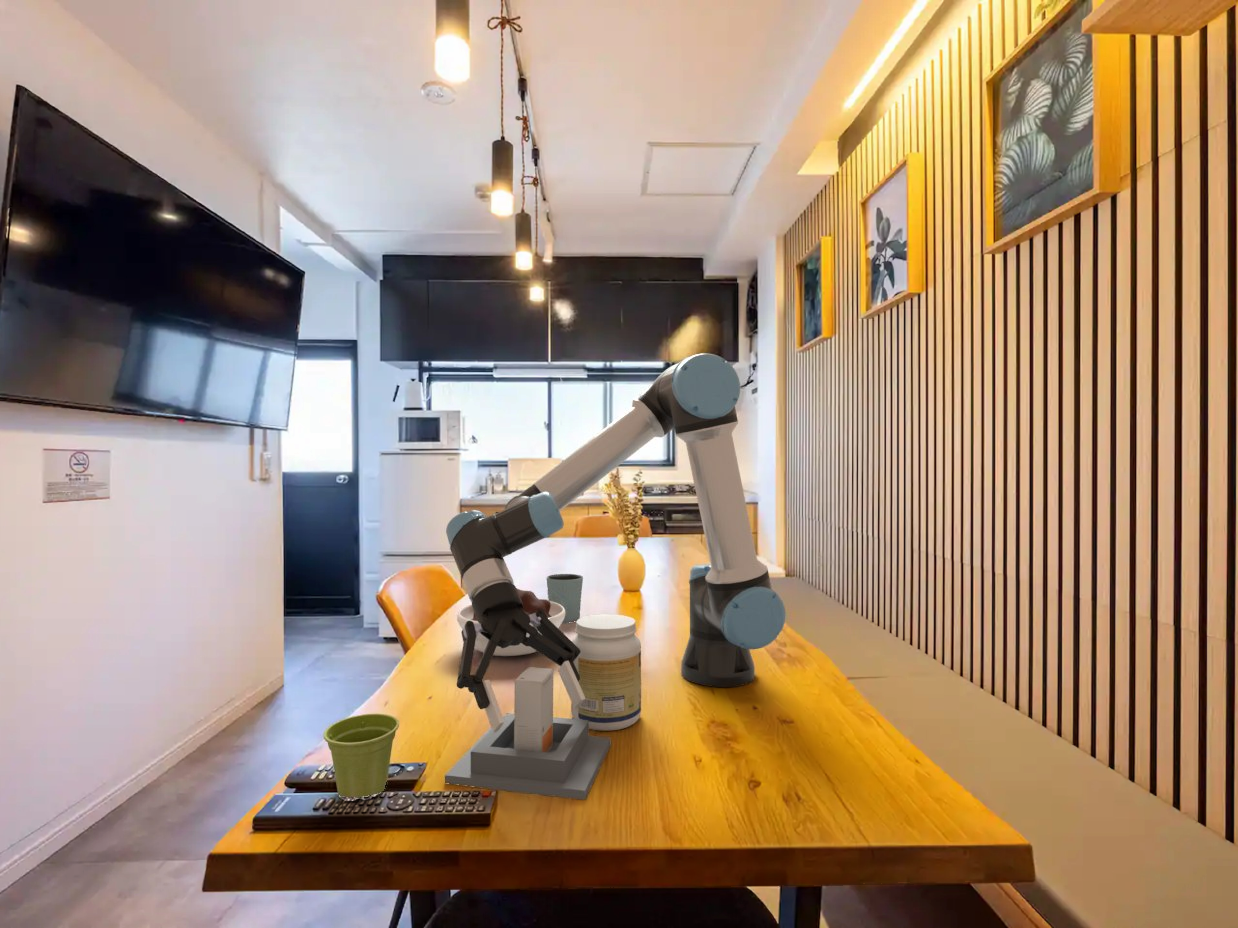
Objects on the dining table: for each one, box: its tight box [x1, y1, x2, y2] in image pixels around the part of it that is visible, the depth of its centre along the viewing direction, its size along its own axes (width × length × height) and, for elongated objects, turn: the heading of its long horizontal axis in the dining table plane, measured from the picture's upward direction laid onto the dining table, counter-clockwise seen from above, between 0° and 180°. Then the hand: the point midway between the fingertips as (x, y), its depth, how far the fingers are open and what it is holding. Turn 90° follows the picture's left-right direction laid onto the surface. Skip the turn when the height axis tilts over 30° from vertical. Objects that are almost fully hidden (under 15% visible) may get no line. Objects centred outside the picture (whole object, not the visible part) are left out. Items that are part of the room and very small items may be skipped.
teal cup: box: [546, 573, 584, 624], centre depth 176 cm, size 10×10×12 cm
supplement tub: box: [570, 613, 642, 732], centre depth 109 cm, size 12×12×17 cm
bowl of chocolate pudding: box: [456, 587, 566, 657], centre depth 147 cm, size 25×25×15 cm
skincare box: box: [513, 666, 554, 752], centre depth 93 cm, size 6×4×12 cm
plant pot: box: [323, 713, 400, 797], centre depth 85 cm, size 9×9×9 cm
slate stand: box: [444, 712, 612, 801], centre depth 92 cm, size 20×16×4 cm
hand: (541, 715), depth 91 cm, fingers open, 13 cm apart
